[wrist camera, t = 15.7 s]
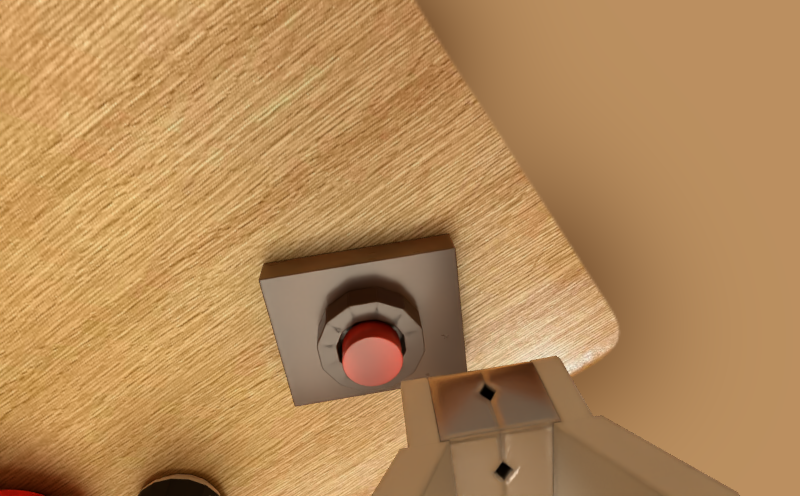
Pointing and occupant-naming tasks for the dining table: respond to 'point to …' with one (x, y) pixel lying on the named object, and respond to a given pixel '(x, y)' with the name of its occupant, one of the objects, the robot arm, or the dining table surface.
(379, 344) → the button
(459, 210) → the dining table surface
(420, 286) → the button block
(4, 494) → the tomato
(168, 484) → the beverage can
